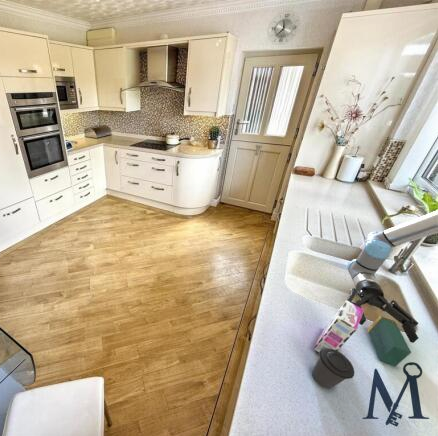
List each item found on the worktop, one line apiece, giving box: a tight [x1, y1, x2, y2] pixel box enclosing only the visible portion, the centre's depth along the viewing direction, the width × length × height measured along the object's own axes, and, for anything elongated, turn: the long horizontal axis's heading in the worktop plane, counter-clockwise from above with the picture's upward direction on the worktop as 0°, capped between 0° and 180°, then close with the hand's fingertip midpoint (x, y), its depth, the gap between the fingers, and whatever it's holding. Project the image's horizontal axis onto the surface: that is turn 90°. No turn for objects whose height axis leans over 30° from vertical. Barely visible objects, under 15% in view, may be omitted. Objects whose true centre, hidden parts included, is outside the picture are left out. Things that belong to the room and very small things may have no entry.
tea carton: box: [366, 315, 412, 367], centre depth 76 cm, size 12×4×8 cm, turn 155°
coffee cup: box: [311, 348, 355, 390], centre depth 66 cm, size 8×8×10 cm
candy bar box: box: [312, 299, 365, 355], centre depth 74 cm, size 11×5×16 cm, turn 131°
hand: (387, 331), depth 77 cm, fingers open, 13 cm apart
